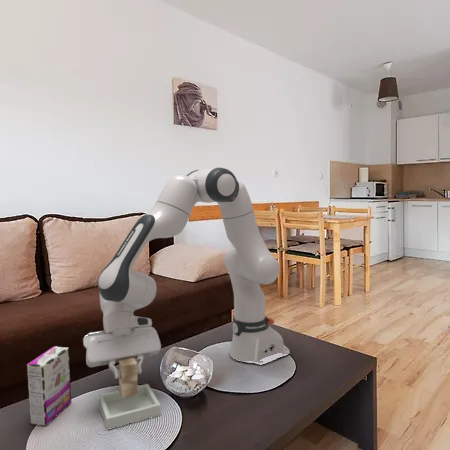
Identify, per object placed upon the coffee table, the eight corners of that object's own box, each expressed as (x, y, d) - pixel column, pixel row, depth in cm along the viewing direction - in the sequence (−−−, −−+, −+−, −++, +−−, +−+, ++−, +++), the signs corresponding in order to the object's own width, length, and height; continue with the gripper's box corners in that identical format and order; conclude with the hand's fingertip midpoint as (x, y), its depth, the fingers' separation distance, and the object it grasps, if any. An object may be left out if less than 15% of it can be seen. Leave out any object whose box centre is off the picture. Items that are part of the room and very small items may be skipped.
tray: (148, 393, 113) (147, 383, 113) (160, 415, 103) (160, 404, 102) (98, 405, 107) (98, 395, 106) (106, 430, 96) (106, 419, 96)
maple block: (133, 388, 107) (133, 357, 106) (137, 395, 103) (137, 363, 102) (119, 391, 105) (118, 360, 104) (122, 398, 101) (122, 366, 100)
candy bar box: (56, 400, 109) (54, 345, 107) (71, 402, 108) (70, 347, 106) (28, 424, 98) (25, 363, 96) (45, 427, 97) (43, 365, 95)
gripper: (83, 328, 103) (89, 379, 96) (156, 318, 113) (167, 363, 105) (81, 338, 108) (86, 388, 100) (152, 327, 117) (162, 372, 110)
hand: (128, 375), depth 103 cm, fingers closed on maple block, 4 cm apart
